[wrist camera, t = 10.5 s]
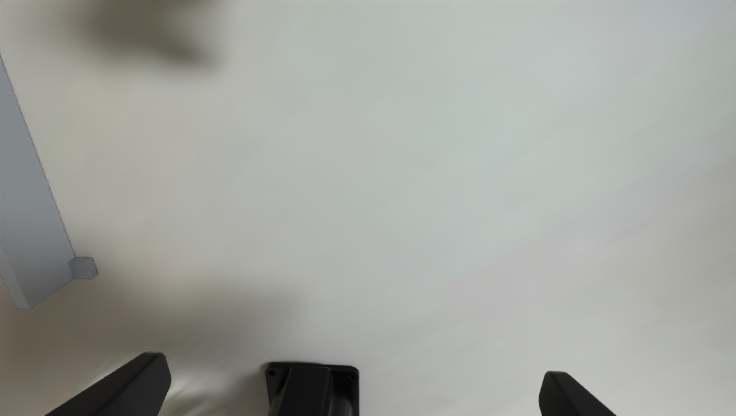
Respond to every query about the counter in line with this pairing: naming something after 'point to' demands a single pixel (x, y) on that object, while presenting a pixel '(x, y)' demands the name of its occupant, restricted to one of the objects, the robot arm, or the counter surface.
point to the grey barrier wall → (30, 216)
